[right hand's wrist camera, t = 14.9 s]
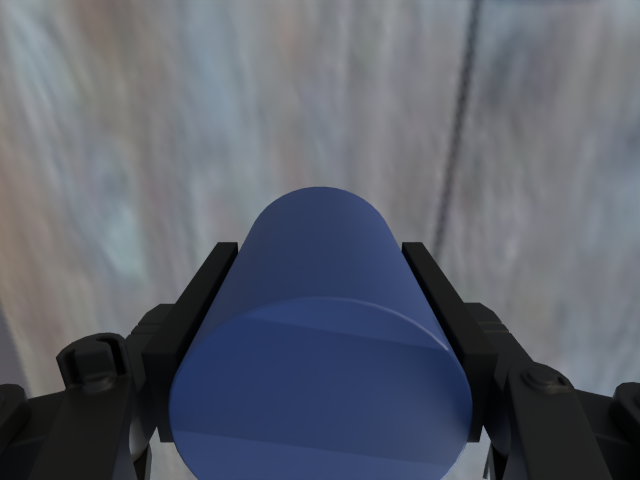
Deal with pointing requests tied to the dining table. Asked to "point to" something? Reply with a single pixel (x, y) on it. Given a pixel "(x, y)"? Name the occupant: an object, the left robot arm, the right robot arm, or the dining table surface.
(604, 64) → the dining table surface
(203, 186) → the dining table surface
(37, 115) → the dining table surface
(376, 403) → the canister
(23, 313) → the dining table surface
